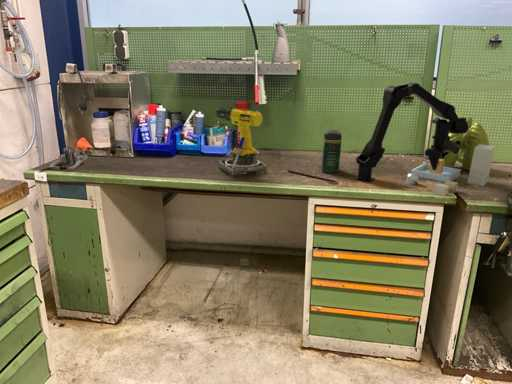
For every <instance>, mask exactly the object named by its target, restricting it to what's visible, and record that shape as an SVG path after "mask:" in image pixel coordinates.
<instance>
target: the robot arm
mask: <svg viewBox="0 0 512 384" xmlns="http://www.w3.org/2000/svg"><path fill="white" fill-rule="evenodd" d="M383 91H384V92H383V96H382V109H381V111H380V114H379V116H378V119H377V123H376V124H375V127H374V130H373V133H372V135H371V138H370V140H368V142H367V143H366V144H365V146H364V147H363V149H362V151H361V153H360V154H359V155H358V156H357V157H356V158H355V162H356V164H358V169H357V171H358V173H357V176H356V177H354V180H356V181H361V182H366V183H367V182H368V183H369V182H372V181H373V180H375V177H373V168H376V167H377V165H378V163H379V162H380V161H381V159H383V156H384V153H385V150H386V148H384V147H383V141H384V140H385V139H384V138H385V136H386V135H387V131H388V128H389V126H390V122H391V121H392V118H393V114H394V112H395V110H396V109H397V108H398V107H399V106H400V104H401V103H402V101H403V99H404V98H407V97H410V96H412V95H413V96H414V97H416V98H417V99H418V100H420V101H421V102H423V103H424V104H426V105H427V107H430V109H431V111H432V113H434V115H435V116H436V117H435V118H434V119H432V120H431V122H430V123H432V124H435V126H434V135H432V137H431V138H432V139H433V141H432V144H431V146H430V147H428V148H427V149H425V150H424V156H427V157H428V159H429V164H430V163H431V166H432V169H433V170H436V168H437V165H438V162H439V159H444V157H445V156H446V155H447V154H449V152H446V151H447V150H449V151H450V152H452V153H454V154H457V153H458V152H460V151H461V148H462V145H461V141H459V140H457V141H456V142H454V141H451V140H450V136H449V132H450V133H451V134H458V133H463V134H465V133H466V132H467V130H468V123H467V121H466V118H467V117H463V116H462V117H459V116H458V114H457V112H456V107H455V106H454V105H452V104H451V103H448V102H446V101H443V100H440V99H439V98H438V97H436V96H434V95H433V94H432V93H430V92H429V90H426V89H425V88H424V87H422V86H421V85H420V83H417V82H409V83H406V84H400V85H389V86H386V88H385V89H384V90H383Z"/></svg>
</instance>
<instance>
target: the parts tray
mask: <svg viewBox="0 0 512 384" xmlns="http://www.w3.org/2000/svg"><path fill="white" fill-rule="evenodd" d="M429 169H430V163H425V162H424V163H422V164H421V165H418V166H417V167H414V168H413V169H411V170H410V173H416V174H419V178H418V179H422V180H427V181H430V182H431V181H432V182H437V183H441V184H444V183H445V182H446V181H451V182H454V181H455V180H456V179H457V178H459V177H461V170H462V169H460V168H455V167H454V168H449V167H444V169H443V173H441V174H434V173H429Z"/></svg>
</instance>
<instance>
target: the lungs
mask: <svg viewBox="0 0 512 384" xmlns="http://www.w3.org/2000/svg"><path fill="white" fill-rule="evenodd" d="M465 118H466V121H467V123H468V130H467V132H466V133H458V134H451V133H450V132H449V136H450V140H451V141H454V142H456V141H457V140H459V141H461V145H462V148H461V149H460V151H459V152H458V153H457V154H454V153H452V152H450V151H449V150H447V151H446V152H449V154H447V155H446V156H445V157H444V159H445V162H444V167H449V168H455V167H456V166H455V165H456V163H457V162H458V163H460V164H462V168H463V169H465V170H467V171H470V169H471V163H472V158H473V153H474V148H475V147H476V146H478V145H479V144H481V145H489V146H491V145H490V141H489V137H488V134H487V132H486V130H485V129H484V127H483V126H482V125H481V123H480V122H474V123H473V118H472V116H471V117H470V116H466V117H465Z"/></svg>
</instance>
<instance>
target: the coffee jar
mask: <svg viewBox="0 0 512 384" xmlns="http://www.w3.org/2000/svg"><path fill="white" fill-rule="evenodd" d="M342 135H343V134H342V132H340V131H339V130H337V129H329V130H327V131H325V132H324V133H323V143H322V144H323V145H322V156H321V157H322V158H321V159H322V160H321V172H322V173H323V172H324V173H328V174H336V173H338V172H339V171H340V161H341V151H342V150H341V149H342Z"/></svg>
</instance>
